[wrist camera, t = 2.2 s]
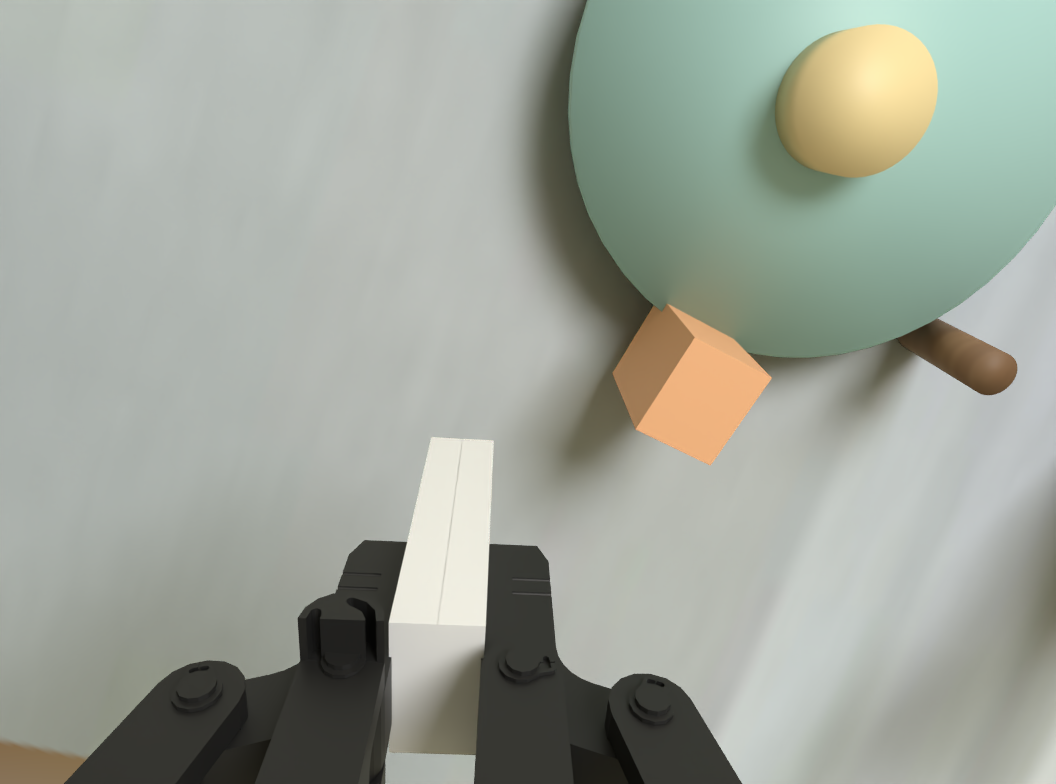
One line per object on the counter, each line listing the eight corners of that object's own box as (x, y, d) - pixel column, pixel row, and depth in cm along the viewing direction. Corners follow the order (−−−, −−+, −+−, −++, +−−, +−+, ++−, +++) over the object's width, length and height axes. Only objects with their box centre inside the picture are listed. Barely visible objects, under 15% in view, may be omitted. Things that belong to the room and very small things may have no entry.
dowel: (889, 338, 30) (962, 383, 25) (914, 305, 29) (992, 345, 24) (918, 355, 30) (995, 402, 25) (944, 323, 29) (1026, 364, 25)
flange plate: (441, 288, 27) (429, 329, 22) (765, -365, 20) (849, -513, 15) (821, 477, 30) (881, 547, 26) (1201, -17, 24) (1379, -46, 19)
